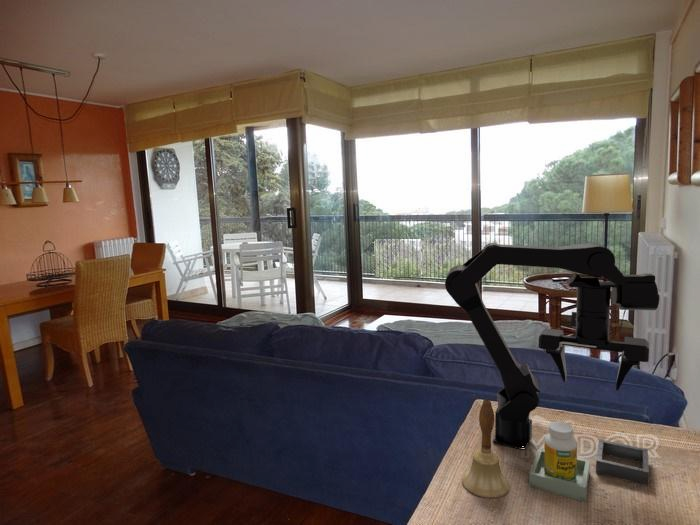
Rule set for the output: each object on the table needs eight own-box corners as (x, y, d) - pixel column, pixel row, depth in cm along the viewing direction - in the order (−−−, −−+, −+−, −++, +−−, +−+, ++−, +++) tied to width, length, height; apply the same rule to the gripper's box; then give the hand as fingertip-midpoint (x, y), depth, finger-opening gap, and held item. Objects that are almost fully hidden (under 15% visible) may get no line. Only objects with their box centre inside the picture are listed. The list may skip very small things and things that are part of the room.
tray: (529, 486, 83) (529, 473, 82) (538, 460, 90) (538, 448, 90) (585, 501, 78) (585, 488, 78) (589, 472, 86) (590, 460, 85)
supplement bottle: (564, 465, 87) (565, 417, 86) (583, 482, 82) (584, 432, 81) (538, 469, 87) (538, 421, 85) (555, 487, 81) (556, 436, 80)
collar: (595, 472, 86) (596, 460, 85) (598, 450, 92) (599, 439, 92) (648, 485, 81) (648, 472, 81) (646, 461, 88) (647, 449, 88)
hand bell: (510, 473, 87) (510, 392, 84) (509, 502, 79) (510, 414, 76) (464, 466, 90) (463, 388, 87) (459, 493, 82) (458, 408, 79)
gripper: (649, 303, 92) (645, 378, 94) (547, 296, 101) (546, 364, 104) (651, 318, 82) (646, 401, 85) (538, 308, 92) (537, 383, 94)
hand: (590, 385), depth 92 cm, fingers open, 9 cm apart
